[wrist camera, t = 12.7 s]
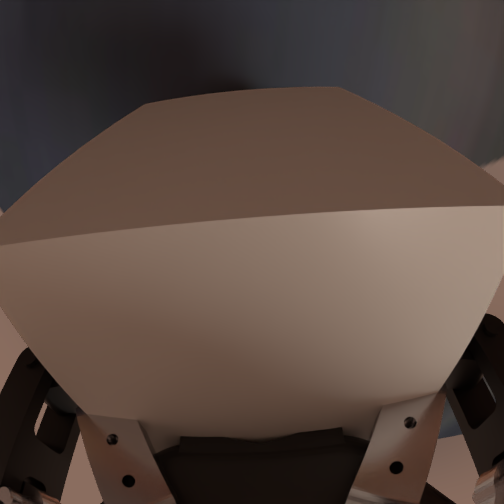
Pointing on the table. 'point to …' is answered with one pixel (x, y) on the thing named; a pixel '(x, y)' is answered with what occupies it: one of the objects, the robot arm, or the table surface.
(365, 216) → the tan block
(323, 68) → the table surface
